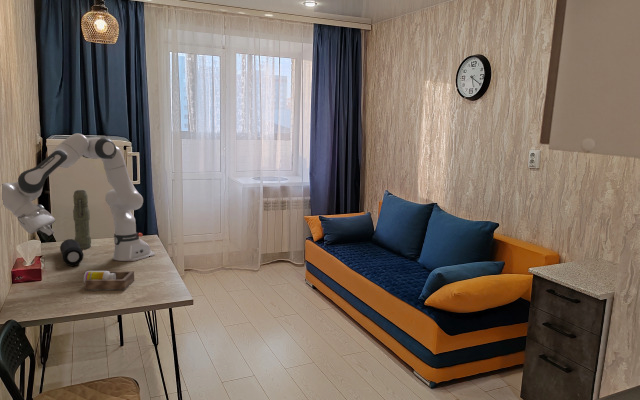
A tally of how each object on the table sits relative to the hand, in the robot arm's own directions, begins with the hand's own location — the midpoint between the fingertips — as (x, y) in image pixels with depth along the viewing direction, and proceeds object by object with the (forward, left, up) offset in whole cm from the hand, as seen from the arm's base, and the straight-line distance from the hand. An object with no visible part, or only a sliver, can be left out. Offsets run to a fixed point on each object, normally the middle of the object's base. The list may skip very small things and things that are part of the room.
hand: (51, 233), depth 219 cm
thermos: (-39, -60, -25) cm, 76 cm away
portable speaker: (-23, -37, -25) cm, 50 cm away
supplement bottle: (-10, +11, -21) cm, 25 cm away
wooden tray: (-17, +17, -25) cm, 35 cm away
